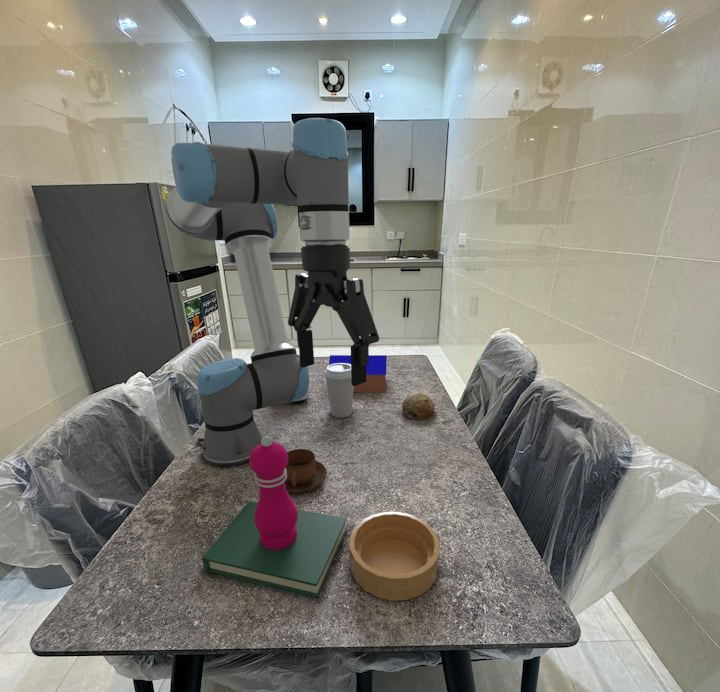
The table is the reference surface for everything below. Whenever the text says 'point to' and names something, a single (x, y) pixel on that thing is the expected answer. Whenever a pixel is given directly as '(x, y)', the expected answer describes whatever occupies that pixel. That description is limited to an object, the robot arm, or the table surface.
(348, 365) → the coffee cup
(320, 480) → the cup and saucer
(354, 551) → the bowl
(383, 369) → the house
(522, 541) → the table surface
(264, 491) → the pepper mill
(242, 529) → the book
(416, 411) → the bread roll
